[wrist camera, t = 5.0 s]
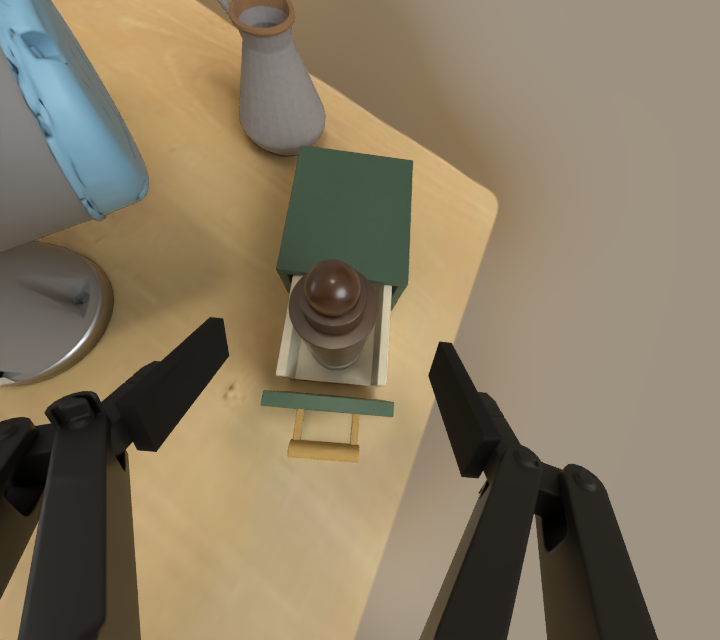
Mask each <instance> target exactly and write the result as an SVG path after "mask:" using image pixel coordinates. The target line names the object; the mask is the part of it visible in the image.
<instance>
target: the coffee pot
mask: <svg viewBox="0 0 720 640" xmlns="http://www.w3.org/2000/svg"><path fill="white" fill-rule="evenodd" d="M217 1H218V2H219V3H220V5H221V6H222V8H223V9H224V10H225V11H226V13H227V14H228V15H229V17H230V19H231V21H232V23H233V24H234V25H235V26H236V27H237V28H238V30H239V32H240V34H241V37H242V39H243V42H242V63H241V85H240V106H239V115H240V123H241V125H242V127H243V129H244V131H245V133H246V134H247V135H248V136H249V137H250V138H251V139H252V140H253V141H254V142H255V143H256V144H257V145H258V146H260V147H262V148H263V149H265V150H267V151H270V152H273V153H275V154H278V155H283V156H292V155H297V154H299V152H300V147H301V145H303V146H310V147H311V146H312V145H313V144H314V143H315V142H316V141H317V140H318V139H319V137H320V135H321V133H322V131H323V129H324V126H325V118H326V115H325V111H324V107H323V104H322V102H321V100H320V98H319V96H318V93H317V91H316V89H315V87H314V85H313V82H312V80H311V78H310V76H309V74H308V72H307V69H306V67H305V65H304V63H303V61H302V59H301V56H300V54H299V52H298V50H297V48H296V46H295V43H294V41H293V39H292V37H291V31H292V24H293V23H294V19H295V12H294V8H293V6H292V4H291V1H290V0H232V1H231V3H230V4H229V3H228V2H227V0H217Z"/></svg>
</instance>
